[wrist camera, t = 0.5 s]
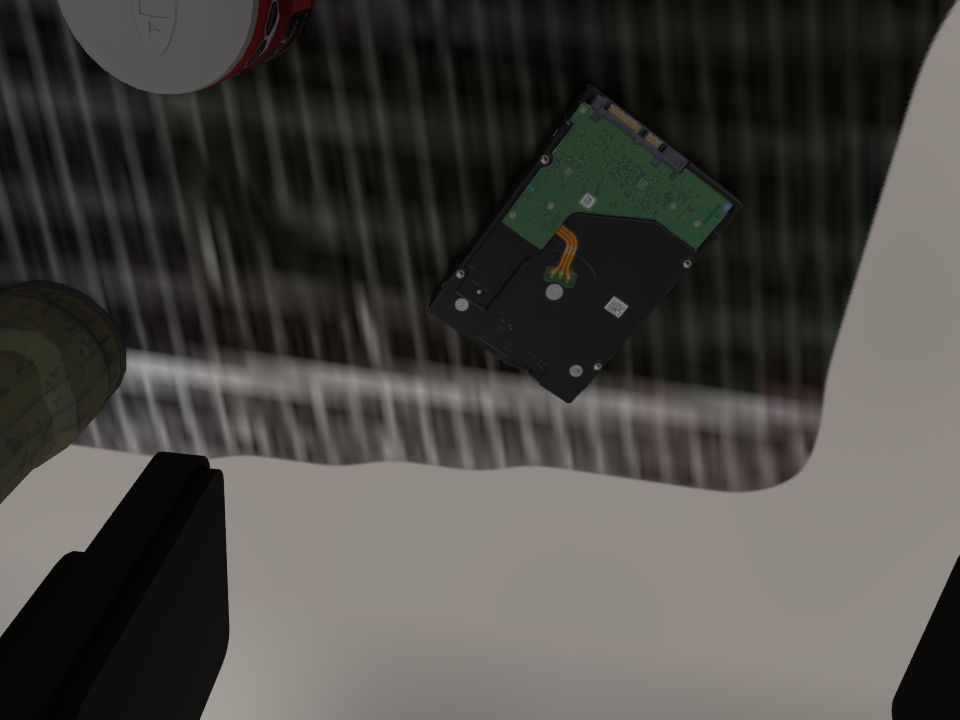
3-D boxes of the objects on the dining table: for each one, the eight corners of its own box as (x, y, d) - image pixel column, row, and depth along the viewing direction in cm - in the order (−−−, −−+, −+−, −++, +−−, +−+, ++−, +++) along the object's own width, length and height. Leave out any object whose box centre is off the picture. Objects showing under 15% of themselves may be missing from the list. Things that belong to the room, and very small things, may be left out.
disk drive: (570, 384, 50) (735, 190, 44) (572, 408, 48) (748, 204, 42) (429, 294, 48) (584, 76, 42) (424, 313, 45) (588, 84, 39)
